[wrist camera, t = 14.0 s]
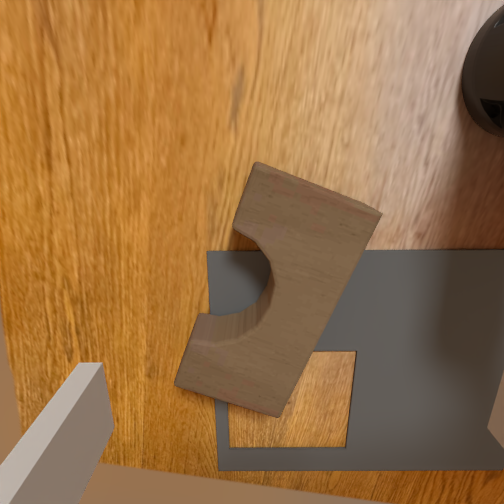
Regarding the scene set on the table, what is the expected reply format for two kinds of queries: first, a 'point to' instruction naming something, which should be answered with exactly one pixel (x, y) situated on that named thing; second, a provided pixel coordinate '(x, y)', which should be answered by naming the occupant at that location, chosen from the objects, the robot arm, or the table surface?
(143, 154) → the table surface
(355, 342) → the mat
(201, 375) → the decorative block
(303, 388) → the table surface
